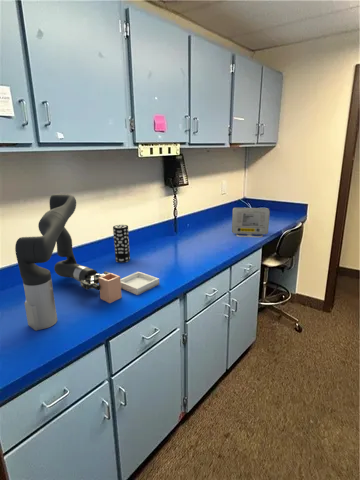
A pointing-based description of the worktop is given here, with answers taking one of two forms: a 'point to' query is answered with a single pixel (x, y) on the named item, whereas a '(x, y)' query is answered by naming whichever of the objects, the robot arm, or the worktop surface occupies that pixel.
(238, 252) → the worktop surface
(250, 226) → the network device
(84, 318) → the worktop surface
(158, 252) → the worktop surface
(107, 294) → the cup
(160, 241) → the worktop surface
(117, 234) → the white-spotted black cylinder
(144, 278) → the tray
